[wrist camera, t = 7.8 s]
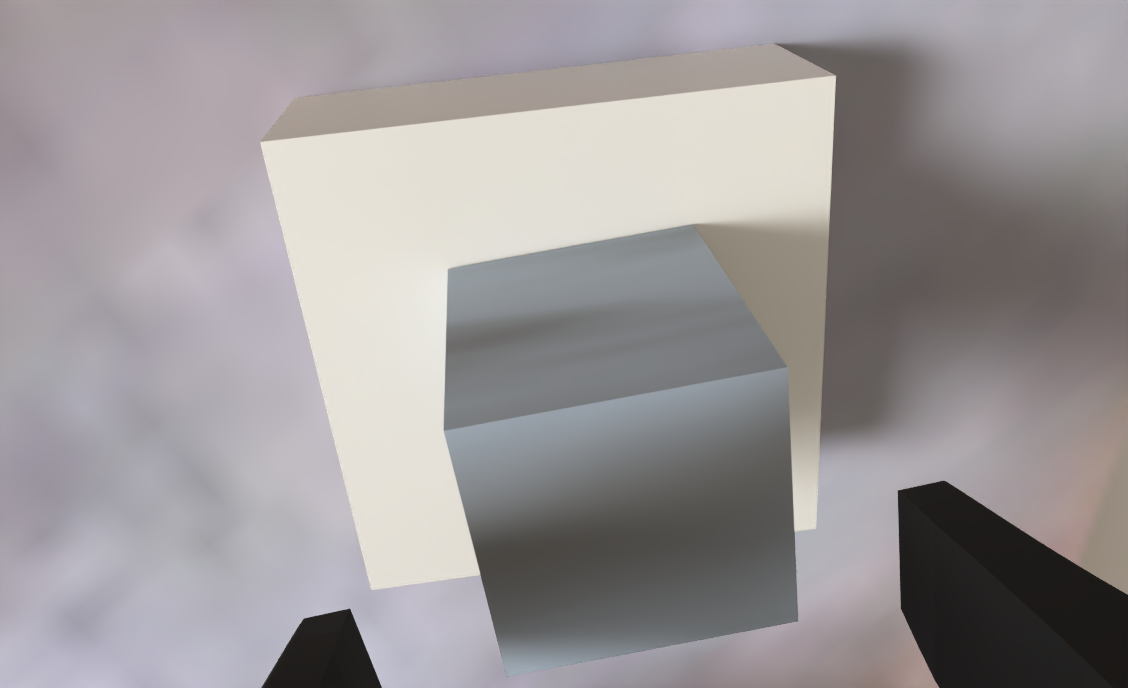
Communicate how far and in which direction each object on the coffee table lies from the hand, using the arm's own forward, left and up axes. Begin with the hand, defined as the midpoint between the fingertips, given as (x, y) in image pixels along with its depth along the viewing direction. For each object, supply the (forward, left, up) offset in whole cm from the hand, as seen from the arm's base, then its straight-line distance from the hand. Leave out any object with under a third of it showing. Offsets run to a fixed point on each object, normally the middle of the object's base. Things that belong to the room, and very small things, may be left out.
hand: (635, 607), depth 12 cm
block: (0, 0, -7) cm, 7 cm away
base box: (0, 0, -11) cm, 11 cm away
